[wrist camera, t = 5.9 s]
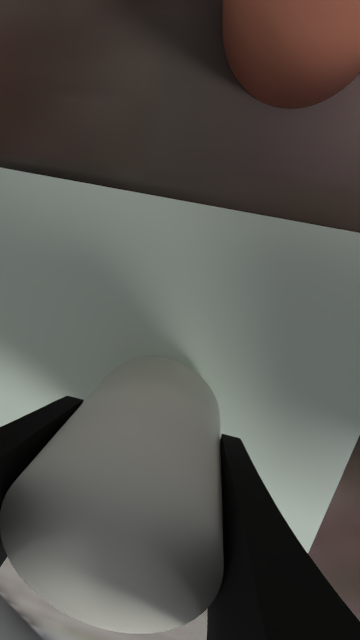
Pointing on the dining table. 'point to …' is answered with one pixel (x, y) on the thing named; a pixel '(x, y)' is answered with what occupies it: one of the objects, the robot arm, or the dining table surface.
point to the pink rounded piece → (292, 48)
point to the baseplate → (188, 319)
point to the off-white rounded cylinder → (125, 503)
